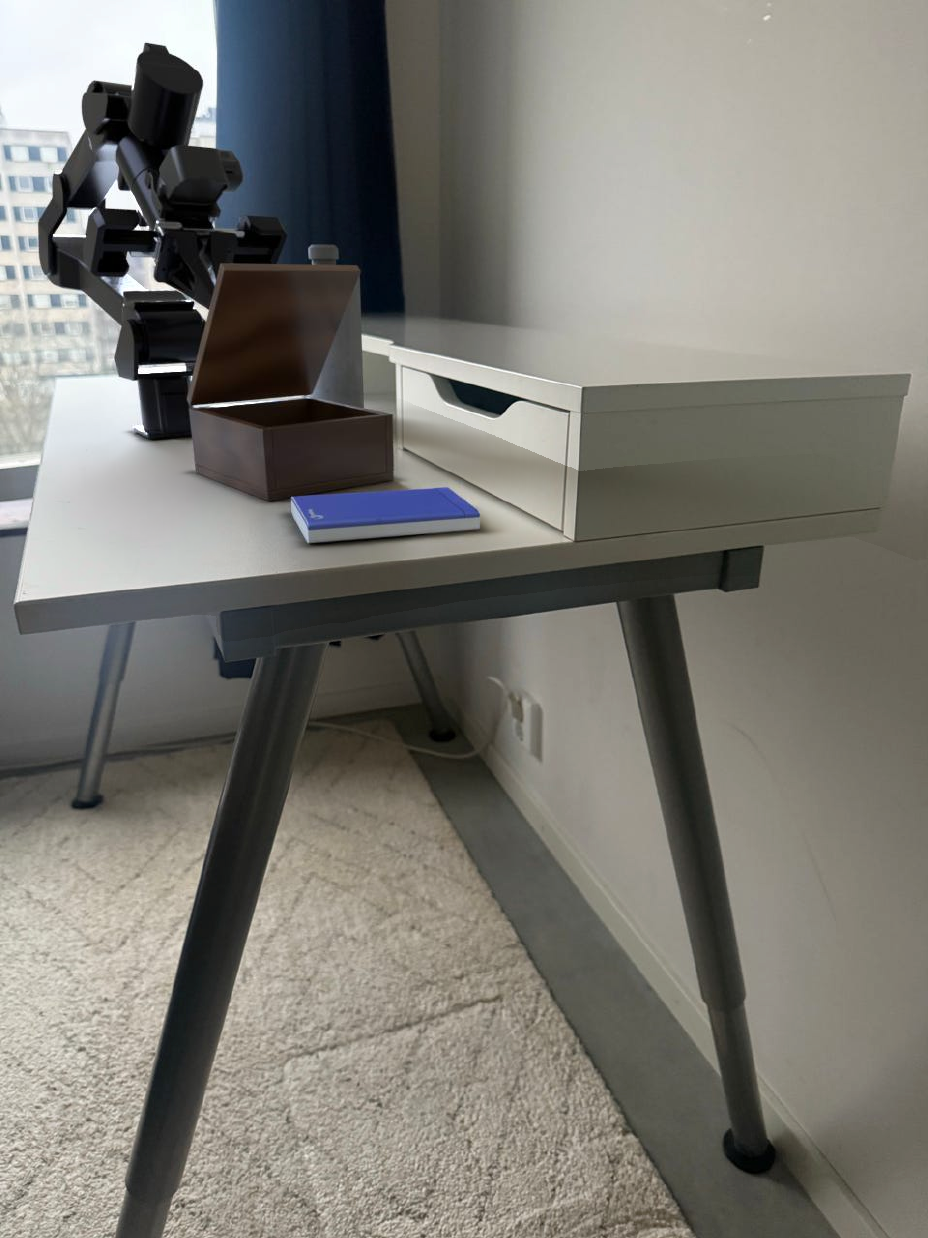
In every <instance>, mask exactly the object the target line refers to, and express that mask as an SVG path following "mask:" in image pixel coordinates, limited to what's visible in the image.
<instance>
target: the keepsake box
mask: <svg viewBox="0 0 928 1238" xmlns="http://www.w3.org/2000/svg"><path fill="white" fill-rule="evenodd" d="M189 413H190V422H191V432H192V435H191V439H192V449H193V459H194V467H195V473H197V474H199V475H203V476H205V477H207V478H209V479H212V480H215V481H216V482H219V483H222V484H225V485H226V486H230V487H232V488H235V489H236V490H239V491H242V492H244V493H246V494H249V495H252V496H254V497H257V498H259V499H261V500H264V501H266V502H274V501H277V500H278V501H279V500H284V499H291V497H297V496H310V495H315V494H319V493H326V492H331V491H336V490H343V489H347V488H348V489H349V488H354V487H361V486H367V485H371V484H378V483H383V482H389V481H393V480H395V462H394V458H395V456H394V414H392V413H388V412H384V411H378V410H374V409H369V408H365V407H364V408H360V407H356V406H351V405H347V404H342V403H337V402H333V401H328V400H323V399H319V398H314V397H307V396H306V397H305V396H304V397H292V398H285V399H283V398H282V399H273V400H262V401H251V402H241V403H240V402H239V403H229V404H218V405H208V406H207V405H206V406H199V407H194V408H189Z"/></svg>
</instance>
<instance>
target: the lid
mask: <svg viewBox="0 0 928 1238" xmlns="http://www.w3.org/2000/svg"><path fill="white" fill-rule="evenodd" d="M361 272H362V271H361V269H360V267H359V266H358V265H356V264H355V265H353V264H352V265H351V264H336V265H312V264H289V263H288V264H285V263H284V264H282V263H281V264H280V263H277V264H220V267H219V271H218V275H217V279H216V283H215V287H214V291H213V295H212V299H211V304H210V308H209V310H208V312H207V316H206V319H205V321H206V324H205V328H204V332H203V336H202V340H201V344H200V348H199V352H198V356H197V360H196V364H195V368H194V372H193V376H191V384H190V388H189V392H188V396H187V401H188V403H189V405H190V406H194V407H195V406H203V405H204V406H205V405H214V404H227V403H236V402H245V401H247V402H248V401H259V400H269V399H280V398H293V397H300V396H302V397H303V396H307V395H312V394H313V392H314V389H315V387H316V384H317V382H318V379H319V376H320V374H321V371H322V369H323V366H324V364H325V361H326V359H327V356H328V354H329V351H330V349H331V346H332V344H333V341H334V338H335V336H336V333H337V331H338V328H339V326H340V323H341V321H342V318H343V316H344V313H345V311H346V308H347V305H348V303H349V300H350V298H351V295H352V293H353V290H354V288H355V285H356V283H357V280H358V278H359V275H361Z"/></svg>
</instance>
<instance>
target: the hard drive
mask: <svg viewBox="0 0 928 1238" xmlns="http://www.w3.org/2000/svg"><path fill="white" fill-rule="evenodd" d="M290 509H291V510H290V511H291V515H292V518H293V520H294V521H295V523H296V525H297V526H298V528H299V530H300V532H301V535H302V536H303V538H304V540H305V541H306V543H307V544H318V543H328V542H340V541H341V542H343V541H353V540H354V541H355V540H364V539H365V540H366V539H377V538H388V537H389V538H390V537H401V536H411V535H423V534H435V533H436V534H437V533H448V532H461V531H473V530H479V529H481V513H480V511H479V510H478V508H476V507H475V506H473V505H472V504H471V503H469V502H468V501H467V500H466V499H464V498H463V497H462V496H460V495H459V494H458V493H456V492H455V491H454V490H452V489H451V488H450V487H448V486H444V487H433V488H416V489H413V488H412V489H399V490H398V489H397V490H381V491H364V492H347V493H346V492H345V493H331V494H330V493H329V494H316V495H315V494H311V495H303V496H297V497H291V498H290Z"/></svg>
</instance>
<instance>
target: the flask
mask: <svg viewBox="0 0 928 1238" xmlns="http://www.w3.org/2000/svg"><path fill="white" fill-rule="evenodd" d="M339 257H340V256H339V248H338V246H336V244H311V245H310V246H309V247H308V259H309V260H311V265H337V260H339V259H340V258H339ZM360 275H361V274H360ZM360 275H359V278H358V280H357V283H356V285H355V288H354V290H353V293H352V295H351V298H350V300H349V303H348V305H347V308H346V311H345V313H344V316H343V318H342V321H341V323H340V326H339V328H338V331H337V333H336V336H335V338H334V341H333V344H332V346H331V349H330V351H329V354H328V356H327V359H326V361H325V364H324V366H323V369H322V371H321V374H320V376H319V379H318V382H317V384H316V387H315V389H314V392H313V394H312V395H306V397H314V398H319V399H323V400H328V401H333V402H337V403H342V404H347V405H351V406H356V407H360V408H365V397H364V396H365V395H364V394H365V393H364V367H363V366H364V364H363V339H362V338H363V335H362V333H363V332H362V307H361V306H362V305H361V279H360V278H361V277H360Z"/></svg>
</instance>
